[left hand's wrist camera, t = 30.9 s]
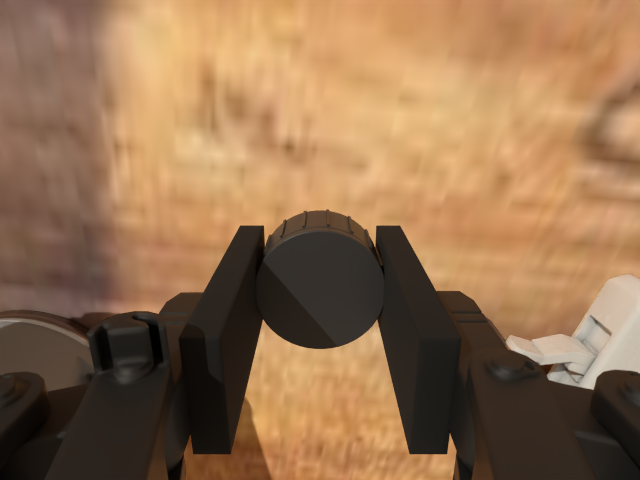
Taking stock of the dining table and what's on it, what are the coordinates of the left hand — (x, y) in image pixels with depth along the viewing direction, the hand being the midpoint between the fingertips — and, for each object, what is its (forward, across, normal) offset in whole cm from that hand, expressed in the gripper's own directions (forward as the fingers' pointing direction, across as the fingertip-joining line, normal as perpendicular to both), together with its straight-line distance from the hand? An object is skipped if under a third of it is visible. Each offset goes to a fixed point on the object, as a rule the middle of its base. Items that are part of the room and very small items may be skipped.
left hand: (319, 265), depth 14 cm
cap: (-2, 0, 0) cm, 2 cm away
